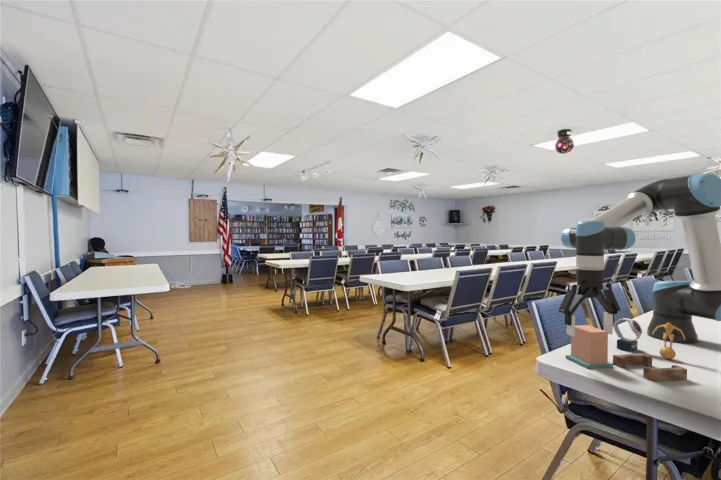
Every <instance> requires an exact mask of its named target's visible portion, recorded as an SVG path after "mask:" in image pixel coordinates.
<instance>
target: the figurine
mask: <svg viewBox="0 0 721 480" xmlns="http://www.w3.org/2000/svg"><path fill="white" fill-rule="evenodd" d="M660 327H665V330H666V333H665V332H664V333H663V339H664V340H663V342H664V344H663V346H662V347H660V349H659V354H660V357H662V358H664V360H665V359H666V360H673V359H675V357H676V351H675V350H674V349H673V348H672V347H673V343H674V342H673V339H674V334H671V333H672V331H673V329H676V330H679V331H680V332H681V334H682V336H683V338H684V339H685V336H684V334H683V332H682V330H680V329H679V328H677V327H675V326H673V325H672V324H671V323H669V322H668V323H667V324H665V325H661V326H657V327H656V329H655V330H654V331H653V333H652V334H654V332H655V331H656V330H657V329H658V328H660ZM667 336H669V338H670V340H671V341H669V346H667V340H665V339H666V338H667Z"/></svg>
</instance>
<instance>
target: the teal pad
mask: <svg viewBox="0 0 721 480" xmlns="http://www.w3.org/2000/svg"><path fill="white" fill-rule="evenodd" d="M565 359H567V360H569V361H570V362H573V363H575V364H577V365H580V367H583V368H586V369H602V368H604V369H605V368H613V367H614V365H613V362H609V361H608V364H588V363H586V362H584V361H582V360H580V359H578V358H575V357H573V356H571V354H566V355H565Z"/></svg>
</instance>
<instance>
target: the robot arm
mask: <svg viewBox="0 0 721 480" xmlns="http://www.w3.org/2000/svg"><path fill="white" fill-rule="evenodd" d="M720 206H721V178H720V177H719V176H718V175H716V174H713V173H699V174H698V173H696V174H695V173H694V174H690V175H683V176H677V177H670V178H664V179H659V180H656V181H653V182H651V183H649V184H646V185H644V186H642V187H641V188H638V189H636V190H635V191H633V192H632V193H631V192H630V194H628V195H627V196H626V197H625V199H624V200H623V201H621V202H618V203H617V204H615V205H614V206H612V207H611V208H609V209H607V210H605V211H604V212H601V213H599V214H598V215H596V216H594V217H593V218H591V219H589V220H582V221H578V222H577V223H576V227H568V228H565V229H564V230H563V231H562V232H561V235H560V241H561V243H562V245H563V246H564V247H566V248H569V249H575V253H576V255H575V266H576V269H575V279H576V281H577V283H576V284H574V283H568V284H567V290H566V292H565V294H564V297H563V300H562V301H561V304H560V306H559V307H558V308H559V309H558V312H559V313H562V314H563V315H564V324H565V325H566V326H565V327H566V329H565V330H566V331H565V332H566V335H568V336H570V337H571V336H575V326H576V324H575V323H576V315H573V314H574V313H575V312H576V310H577V309H578V308H579V307H580V305H581V304H582V302H583V301H584V300H586V299H591V298H595V299H596V300H597V302H598V303H599V304H600V306H601V307H602V308H603V309H604V311H605V312H603V330H604V331H607V332H608V335H613V332H614V324H615V315H617V314H618V313H619V312H620V311H621V308H620V304H619V303H618V301H617V298H616V296H615V294H614V292H613V289H612V288H613V287H612V286H613V285H612V284H611V282H610V283H609V282H604V281H605V271H604V268H605V251H606V250H607V251H608V250H609V251H610V250H611V251H612V250H614V251H615V250H617V251H622V250H628V249H630V248H632V247H633V246H634V244H635V243H636V234H635V231H633V230H632V228H629V227H625V226H624V225H625V224H627V223H629V222H631V221H632V220H634V219H636V218H637V217H639V216H646V215H648V214H650V213H651V212H656V211H665V210H669V211H670V210H673V213H674V216H675V217H677V218H678V219H680V220H681V223H682V227H683V233H684V238H685V243H686V247H687V252H688V258H689V262H690V266H691V272H692V276H693V280H692V281H691V280H665V281H663V280H662V281H661V280H658V281H656V282H654V284H653V287H652V288H653V289H652V295H653V296H652V318H651V320H650V322H649V324H648V327H647V329H646V334H647V335H648V336H650V337H652V338H655V339H659V340H663V341H664V339H663V333H664V332H665V333H666V330H665V327H660V328H658V329H657V330H656V331H655V332H654V334H652V333H653V331H654V330H655V329H656V327H657V326H661V325H665V324H667V323H668V322H669V323H671V324H672V325H673V326H675V327H677V328H679V329H680V330H682V332H683V334H684V336H685V339H684V338H683V336H682V334H681V332H680V331H679V330H676V329H673V331H672V333H671V334H674V339H673V341H672V342H673V343H682V344H683V343H684V344H694V343H698V342H699V340H698V339H699V336H698V334H697V332H696V329H695V326H694V324H693V323H694V322H693V317H698V318H703V319H708V320H713V321H717V322H721V239H720V233H719V230H718V223H717V218H716V215H717V213H718V212H719V211H720V210H721V207H720ZM623 226H624V227H623ZM665 340H666V342H667V341H668V342H670V341H671V340H670V338H669V336H667V338H666V339H665Z"/></svg>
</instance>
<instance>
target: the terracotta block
mask: <svg viewBox="0 0 721 480" xmlns="http://www.w3.org/2000/svg"><path fill="white" fill-rule="evenodd" d="M608 346H609V334H608V332H607V331H604V329H600V328H598V327H595V326H591V325H589V324H583V325H582V324H581V325H580V324H579V325H576V324H575V336H570V355H571V356H573V357H575V358H578V359H580V360H582V361H584V362H586V363H588V364H608V362H609V361H608V356H609V355H608V354H609V353H608V352H609V347H608Z"/></svg>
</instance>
